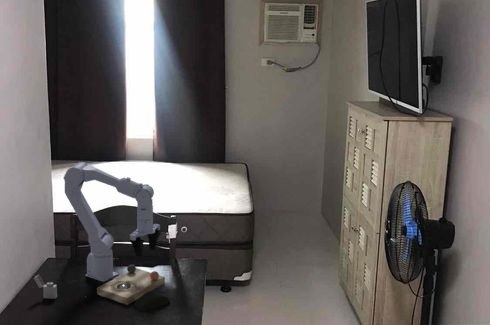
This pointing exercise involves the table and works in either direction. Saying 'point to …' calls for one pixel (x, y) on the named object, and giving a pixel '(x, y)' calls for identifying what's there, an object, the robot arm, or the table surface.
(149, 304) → the computer mouse
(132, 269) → the black ball
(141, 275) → the maple board
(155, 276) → the red ball
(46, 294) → the lighter
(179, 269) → the table surface
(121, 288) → the steel ball
